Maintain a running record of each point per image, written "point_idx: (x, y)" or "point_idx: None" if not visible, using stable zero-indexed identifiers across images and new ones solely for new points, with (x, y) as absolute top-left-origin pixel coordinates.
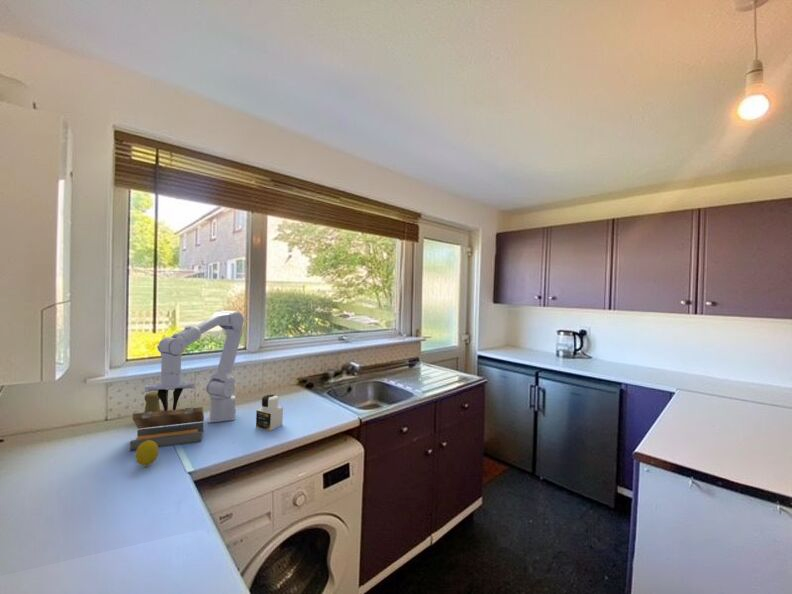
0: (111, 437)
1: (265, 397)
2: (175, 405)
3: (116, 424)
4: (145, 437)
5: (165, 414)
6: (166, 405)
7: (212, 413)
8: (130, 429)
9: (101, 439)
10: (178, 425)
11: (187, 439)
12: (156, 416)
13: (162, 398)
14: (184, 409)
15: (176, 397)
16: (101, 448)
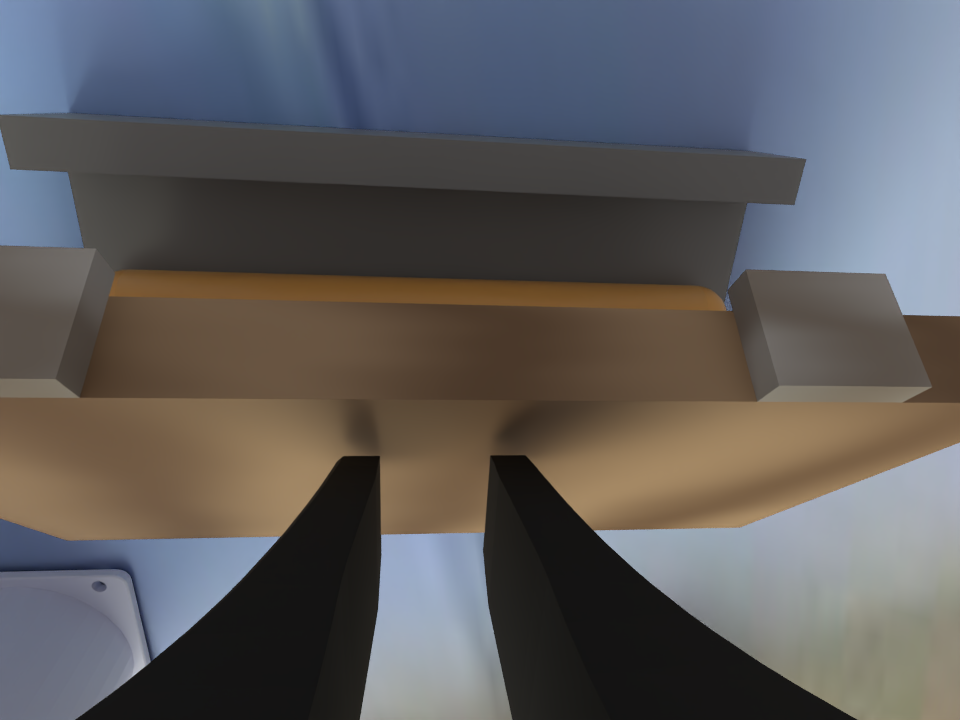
0: (859, 496)
1: None
2: (308, 512)
3: (817, 692)
4: (651, 297)
5: (495, 322)
6: (514, 540)
7: (52, 666)
8: (738, 597)
9: (920, 481)
10: None
11: (201, 122)
12: (644, 321)
13: (698, 674)
14: (104, 384)
15: (191, 691)
16: (939, 311)
